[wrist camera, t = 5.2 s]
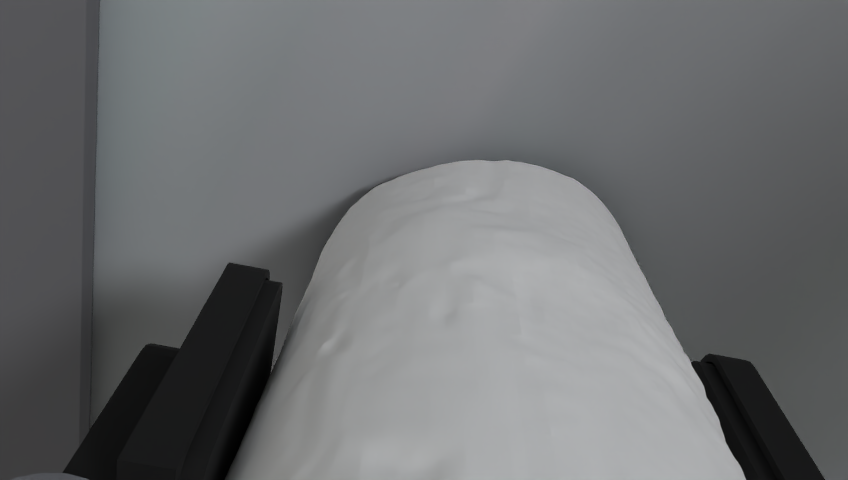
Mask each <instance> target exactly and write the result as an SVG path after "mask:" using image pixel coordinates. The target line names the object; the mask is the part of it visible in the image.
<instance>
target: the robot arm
mask: <svg viewBox="0 0 848 480" xmlns="http://www.w3.org/2000/svg"><path fill="white" fill-rule="evenodd" d="M269 279H270V272H269V270H266V269H261V268H255V267H250V266H245V265H240V264H234V263H229V264H228V265H227V267H226V268H225V270H224V272H223V274H222V275H221V277H220V279H219V281H218V282H217V284H216V286H215V288H214V289H213V291H212V293H211V295H210V297H209V298H208V300H207V302H206V304H205V305H204V307H203V309H202V311H201V312H200V314H199V316H198V318H197V319H196V321H195V323H194V325H193V327H192V328H191V330H190V332H189V334H188V335H187V337H186V339H185V341H184V342H183V344H182V346H181V348H180V349H178V348H173V347H167V346H162V345H156V344H151V343H150V344H148V345H146V346H145V347H144V348H143V349H142V351H141V352H140V353H139V355H138V356H137V358H136V360H135V361H134V363H133V364H132V366H131V367H130V369H129V370H128V372H127V373H126V375H125V377H124V378H123V380H122V381H121V383H120V384H119V386H118V387H117V389H116V390H115V392H114V394H113V395H112V397H111V398H110V400H109V401H108V403H107V404H106V406H105V407H104V409H103V411H102V412H101V414H100V415H99V417H98V418H97V420H96V421H95V423H94V425H93V426H92V428H91V429H90V431H89V432H88V434H87V435H86V437H85V438H84V440H83V442H82V443H81V445H80V446H79V448H78V449H77V451H76V452H75V454H74V455H73V457H72V459H71V460H70V462H69V463H68V465H67V466H66V468H65V469H64V471H63V473H38V474H32V475H26V476H20V477H17V478H14V479H11V480H225V477H226V475H227V473H228V471H229V468H230V466H231V464H232V462H233V460H234V458H235V456H236V453H237V451H238V449H239V447H240V444H241V441H242V439H243V437H244V434H245V432H246V430H247V428H248V426H249V423H250V421H251V418H252V416H253V413H254V410H255V408H256V405H257V403H258V402H259V400H260V398H261V395H262V393H263V390H264V388H265V386H266V383H267V381H268V379H269V377H270V373H271V366H272V359H273V352H274V345H275V338H276V330H277V323H278V316H279V309H280V302H281V295H282V283H279V282H274V281H269ZM691 365H692V367H693V369H694V370H695V372H696V374H697V375H698V377H699V378H700V380H701V382H702V384H703V386H704V389H705V393H706V397H707V399H708V400H709V402H710V403H711V405H712V407H713V409H714V411H715V413H716V415H717V416H718V418H719V421H720V426H721V429H722V431H723V434H724V437H725V442H726V444H727V445H728V447H729V449H730V451H731V453H732V454H733V456H734V458H735V459H736V460H737V462H738V463H739V465H740V467H741V469H742V471H743V473H744V476H745V478H746V480H825V479H824V477H823V476H822V474H821V473H820V471H819V469H818V468H817V466H816V465H815V463H814V461H813V460H812V458H811V457H810V455H809V453H808V452H807V450H806V449H805V447H804V445H803V444H802V442H801V441H800V439H799V437H798V436H797V434H796V433H795V431H794V429H793V428H792V426H791V425H790V423H789V421H788V420H787V418H786V417H785V415H784V413H783V412H782V410H781V409H780V407H779V405H778V404H777V402H776V401H775V399H774V397H773V396H772V394H771V393H770V391H769V389H768V388H767V386H766V385H765V383H764V382H763V380H762V378H761V377H760V375H759V374H758V372H757V370H756V369H755V367H754V366H753V365H752V363H751V362H749V361H746V360H741V359H735V358H730V357H725V356H720V355H714V354H708V355H706V356H705V357H704V358H703V359H702V360H701V362H698V361H693V362H691Z"/></svg>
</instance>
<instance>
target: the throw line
mask: <svg viewBox="0 0 848 480" xmlns="http://www.w3.org/2000/svg"><path fill="white" fill-rule="evenodd" d="M99 7H100V0H0V480H11V479H14V478H17V477H20V476H26V475H32V474H38V473H63V471H64V469H65V468H66V466H67V465H68V463H69V462H70V460H71V459H72V457H73V455H74V454H75V452H76V451H77V449H78V448H79V446H80V445H81V443H82V442H83V440H84V438H85V437H86V435H87V434H88V432H89V428H90V386H91V344H92V302H93V260H94V218H95V175H96V133H97V91H98V49H99Z"/></svg>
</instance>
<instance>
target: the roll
mask: <svg viewBox="0 0 848 480" xmlns="http://www.w3.org/2000/svg"><path fill="white" fill-rule="evenodd" d="M225 480H746V478H745V476H744V473H743V471H742V469H741V467H740V465H739V463H738V462H737V460H736V459H735V458H734V456H733V454H732V453H731V451H730V449H729V447H728V445H727V444H726V442H725V437H724V434H723V431H722V429H721V426H720V421H719V418H718V416H717V415H716V413H715V411H714V409H713V407H712V405H711V403H710V402H709V400H708V399H707V397H706V393H705V389H704V386H703V384H702V382H701V380H700V378H699V377H698V375H697V374H696V372H695V370H694V369H693V367H692V365H691V361H690V359H689V358H688V356H687V355H686V354H685V353H684V351H683V349H682V346H681V344H680V343H679V341H678V340H677V338H676V336H675V334H674V332H673V329H672V327H671V326H670V325H669V323H668V322H667V321H666V318H665V316H664V313H663V311H662V309H661V307H660V305H659V303H658V301H657V300H656V298H655V296H654V295H653V293H652V291H651V289H650V286H649V284H648V282H647V280H646V278H645V276H644V274H643V273H642V271H641V270H640V267H639V265H638V263H637V262H636V260H635V257H634V255H633V254H632V251H631V249H630V247H629V245H628V243H627V241H626V239H625V237H624V235H623V233H622V231H621V229H620V227H619V225H618V223H617V222H616V220H615V219H614V217H613V216H612V214H611V213H610V211H609V210H608V209H607V207H606V206H605V205H604V204H603V203H602V201H601V200H600V199H599V198H598V197H597V196H596V195H595V194H594V193H593V192H591V191H590V190H589V189H588V188H586V187H585V186H583V185H582V184H581V183H579V182H578V181H576V180H575V179H573V178H571V177H568V176H565V175H563V174H560V173H558V172H555V171H553V170H550V169H547V168H544V167H541V166H537V165H532V164H528V163H523V162H513V161H509V160H502V161H486V160H469V161H457V162H451V163H446V164H440V165H436V166H433V167H430V168H426V169H422V170H417V171H414V172H411V173H408V174H405V175H402V176H400V177H397V178H395V179H393V180H391V181H388V182H385V183H383V184H381V185H378V186H376V187H374V188H373V189H372V190H370V191H369V192H368V193H367V194H365V195H364V196H363V197H362V198H361V199H360V200H359V201H358V202H356V203H355V204H354V205H353V206H351V207H350V209H349V210H348V211H347V213H346V214H345V216H344V217H343V218H342V219H341V221H340V222H339V224H338V225H337V226H336V228H335V229H334V231H333V233H332V235H331V236H330V238H329V239H328V241H327V243H326V244H325V246H324V248H323V250H322V252H321V255H320V257H319V260H318V263H317V265H316V268H315V270H314V273H313V277H312V279H311V281H310V283H309V285H308V288H307V290H306V292H305V294H304V297H303V299H302V301H301V303H300V305H299V307H298V309H297V311H296V313H295V316H294V318H293V321H292V323H291V326H290V328H289V331H288V334H287V337H286V339H285V342H284V345H283V347H282V350H281V353H280V355H279V357H278V359H277V361H276V363H275V365H274V368H273V370H272V372H271V374H270V377H269V379H268V381H267V383H266V386H265V388H264V390H263V393H262V395H261V398H260V400H259V402H258V403H257V405H256V408H255V410H254V413H253V416H252V418H251V421H250V423H249V426H248V428H247V430H246V432H245V434H244V437H243V439H242V441H241V444H240V447H239V449H238V451H237V453H236V456H235V458H234V460H233V462H232V464H231V466H230V468H229V471H228V473H227V475H226V477H225Z"/></svg>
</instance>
